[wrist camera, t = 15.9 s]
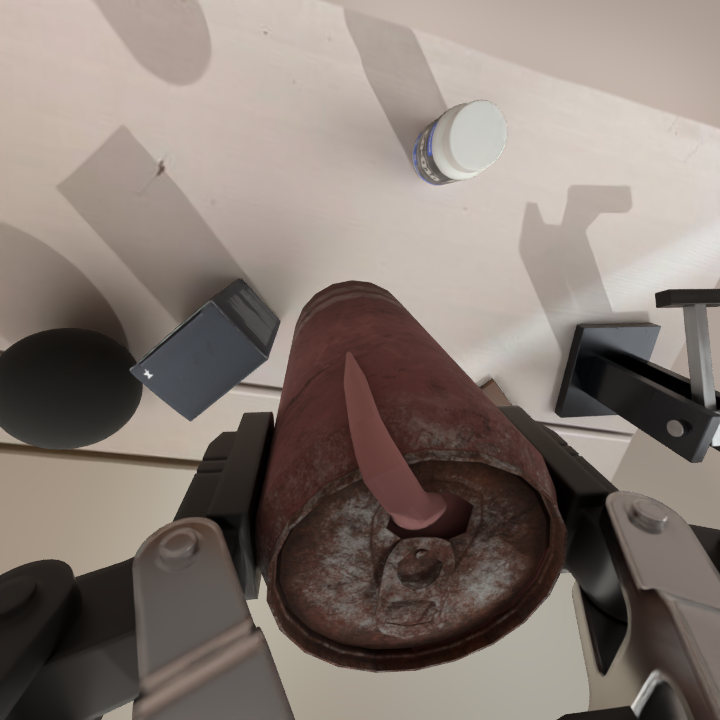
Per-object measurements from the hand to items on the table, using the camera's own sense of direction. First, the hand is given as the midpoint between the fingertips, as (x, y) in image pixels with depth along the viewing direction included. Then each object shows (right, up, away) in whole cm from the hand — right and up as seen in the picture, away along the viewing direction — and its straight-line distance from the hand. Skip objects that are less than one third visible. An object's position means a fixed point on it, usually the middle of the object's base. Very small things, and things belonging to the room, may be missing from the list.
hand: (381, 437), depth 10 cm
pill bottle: (+6, +20, +21) cm, 29 cm away
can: (-1, +4, +9) cm, 10 cm away
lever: (+28, +2, +21) cm, 35 cm away
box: (-13, +6, +24) cm, 28 cm away
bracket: (+27, +1, +31) cm, 41 cm away
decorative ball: (-25, +2, +24) cm, 35 cm away
